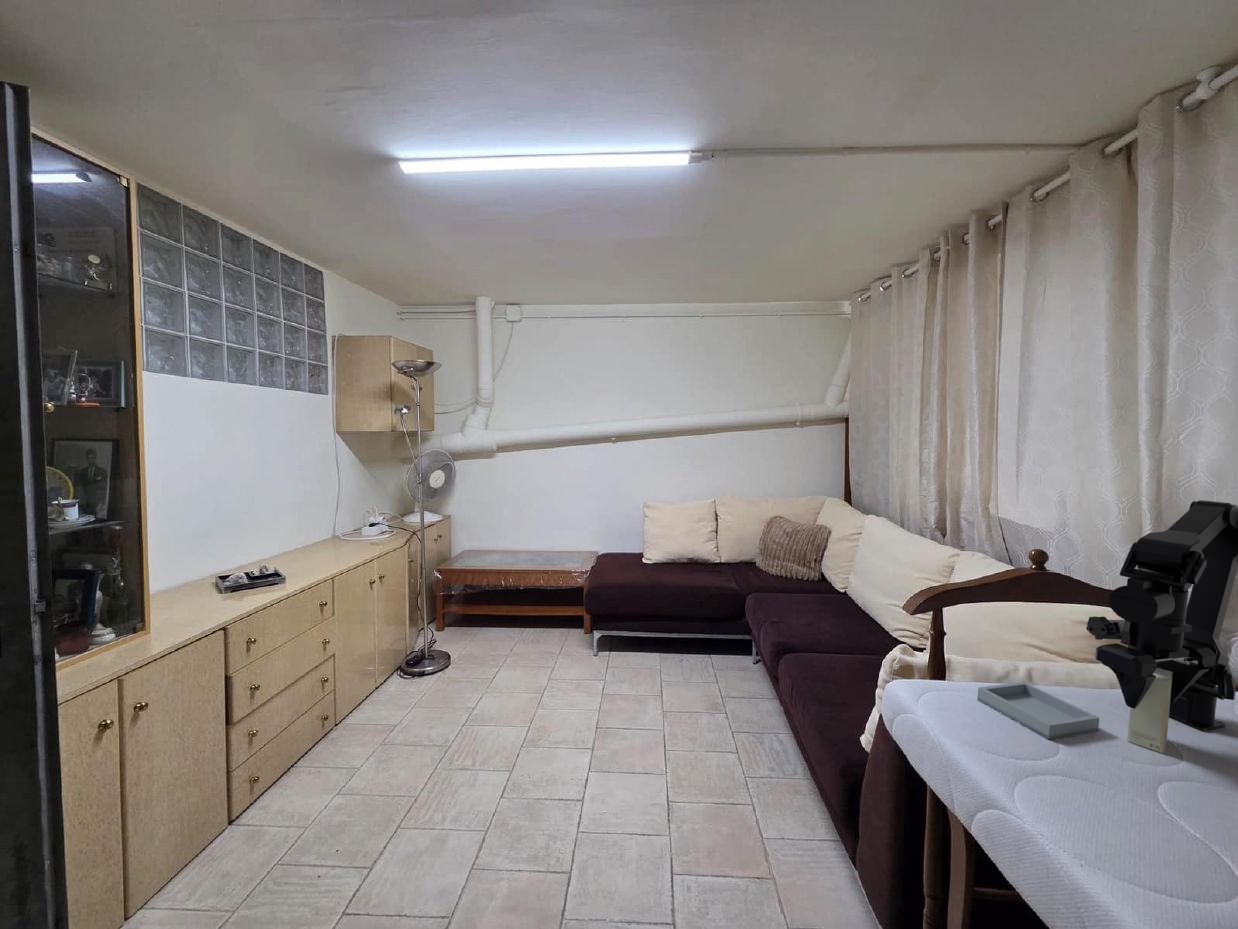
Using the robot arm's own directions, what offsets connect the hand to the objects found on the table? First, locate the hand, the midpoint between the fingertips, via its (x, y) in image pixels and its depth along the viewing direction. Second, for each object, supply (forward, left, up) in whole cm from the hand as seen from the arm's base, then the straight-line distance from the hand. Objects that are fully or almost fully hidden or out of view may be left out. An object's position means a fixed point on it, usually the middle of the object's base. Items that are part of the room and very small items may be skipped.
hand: (1150, 704), depth 84 cm
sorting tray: (+11, -10, -6) cm, 16 cm away
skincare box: (0, 0, -7) cm, 7 cm away
